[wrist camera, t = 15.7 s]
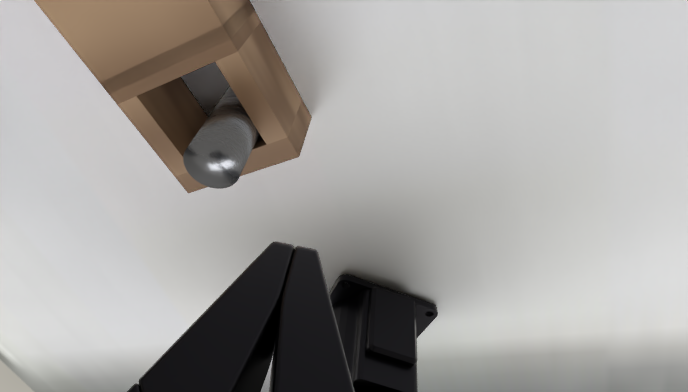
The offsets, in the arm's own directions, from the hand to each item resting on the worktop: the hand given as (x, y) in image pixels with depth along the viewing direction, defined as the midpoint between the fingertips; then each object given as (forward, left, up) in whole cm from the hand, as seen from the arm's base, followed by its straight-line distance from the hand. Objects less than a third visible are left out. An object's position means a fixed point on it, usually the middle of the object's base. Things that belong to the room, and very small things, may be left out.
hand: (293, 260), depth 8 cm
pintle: (-4, +3, -12) cm, 13 cm away
